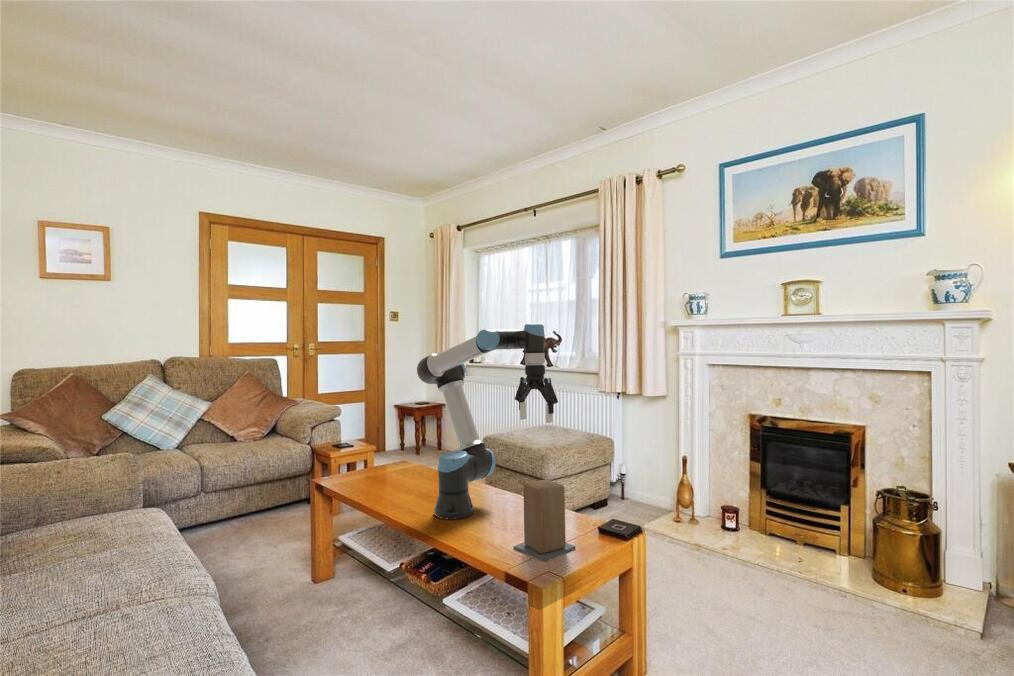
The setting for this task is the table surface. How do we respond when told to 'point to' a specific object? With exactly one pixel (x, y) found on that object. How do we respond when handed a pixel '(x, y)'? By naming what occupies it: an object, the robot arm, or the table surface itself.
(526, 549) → the mat
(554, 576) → the table surface
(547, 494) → the wooden block
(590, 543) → the table surface
